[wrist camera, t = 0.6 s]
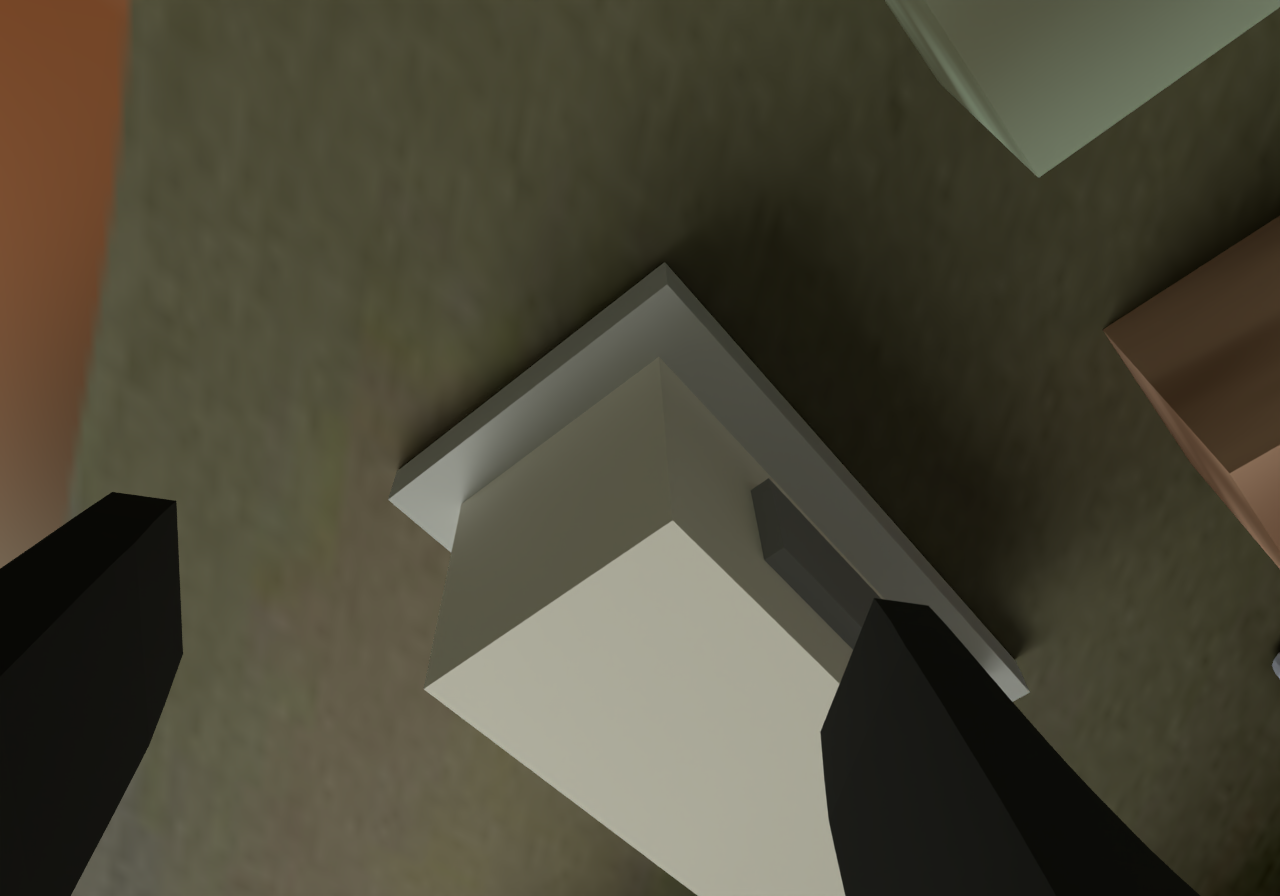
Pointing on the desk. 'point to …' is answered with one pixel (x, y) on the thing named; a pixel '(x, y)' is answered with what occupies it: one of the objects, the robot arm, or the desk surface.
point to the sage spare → (1065, 60)
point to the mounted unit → (665, 591)
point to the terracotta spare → (1219, 374)
